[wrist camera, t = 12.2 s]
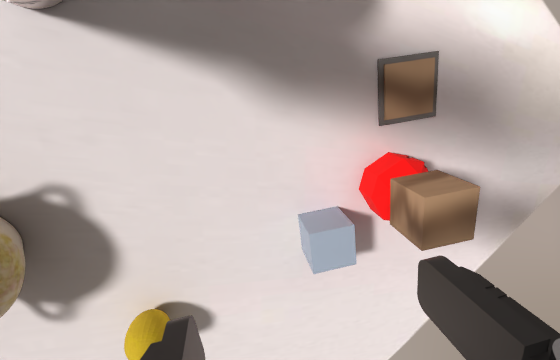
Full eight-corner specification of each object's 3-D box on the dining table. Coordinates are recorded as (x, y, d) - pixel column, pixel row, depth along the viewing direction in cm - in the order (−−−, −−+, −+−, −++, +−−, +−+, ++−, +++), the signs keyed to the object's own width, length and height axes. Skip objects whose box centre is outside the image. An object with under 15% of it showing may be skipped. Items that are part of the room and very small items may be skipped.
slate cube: (297, 214, 40) (309, 234, 35) (337, 206, 41) (354, 224, 35) (302, 249, 42) (313, 274, 37) (339, 241, 43) (356, 264, 37)
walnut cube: (390, 178, 32) (424, 197, 27) (437, 169, 33) (480, 186, 27) (390, 224, 34) (421, 250, 29) (434, 214, 35) (473, 239, 29)
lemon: (175, 296, 41) (163, 342, 33) (176, 326, 42) (165, 376, 35) (134, 298, 40) (113, 346, 32) (137, 328, 41) (117, 381, 34)
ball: (414, 183, 42) (452, 202, 35) (370, 213, 42) (399, 238, 35) (392, 140, 39) (429, 152, 32) (345, 173, 40) (371, 191, 32)
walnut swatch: (377, 59, 35) (379, 59, 35) (437, 51, 36) (440, 50, 36) (378, 125, 38) (380, 126, 38) (434, 115, 39) (437, 116, 39)
